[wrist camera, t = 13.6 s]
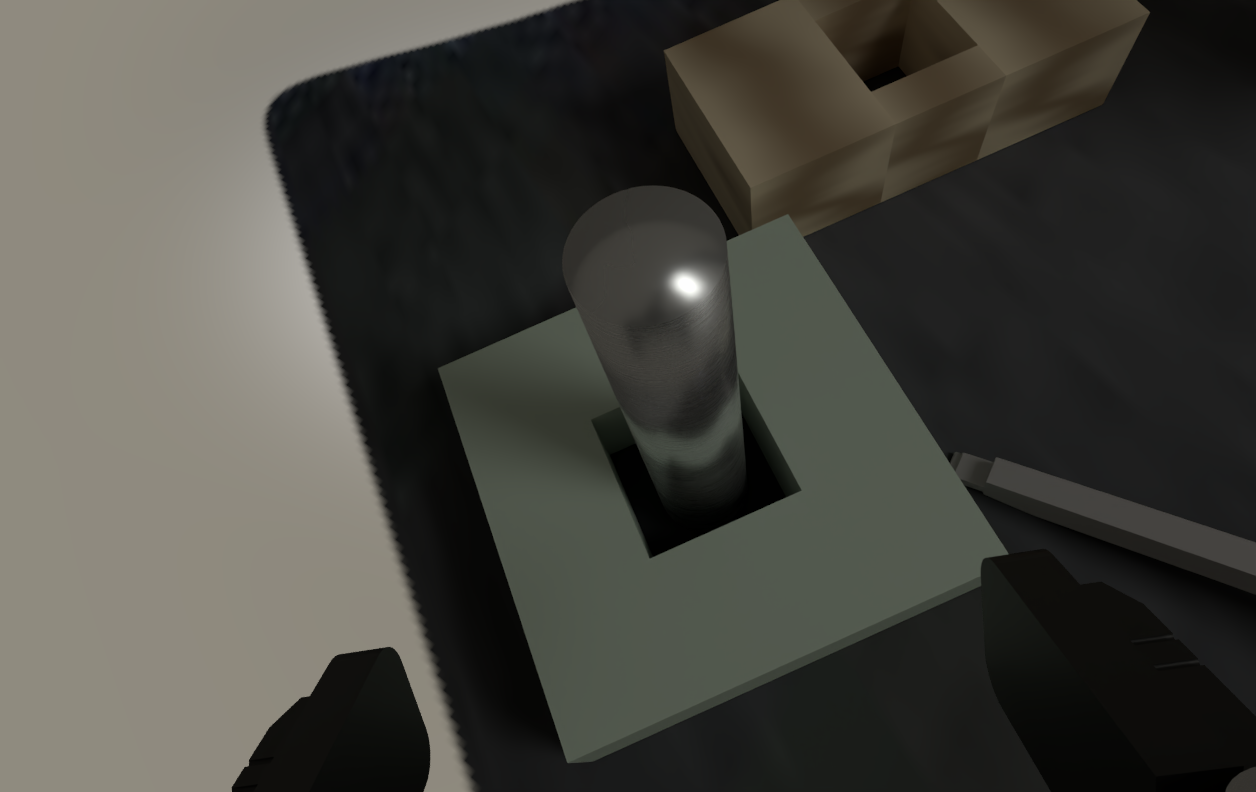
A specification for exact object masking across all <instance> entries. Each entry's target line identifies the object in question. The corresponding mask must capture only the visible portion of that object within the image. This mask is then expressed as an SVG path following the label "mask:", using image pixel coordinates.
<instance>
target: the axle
mask: <svg viewBox="0 0 1256 792" xmlns="http://www.w3.org/2000/svg"><path fill="white" fill-rule="evenodd" d="M562 269H563V274H564V279H565V281H566V284H567V287H568V289H569V291H570V294H571V296H572V298H573V301H574V303H575V305H576V307H577V310H578V312H579V314H580V317H581V319H582V321H583V323H584V326H585V328H586V330H587V333H588V335H589V337H590V339H591V342H592V344H593V346H594V349H595V351H596V353H597V355H598V358H599V360H600V362H601V365H602V367H603V369H604V372H605V374H606V376H607V378H608V381H609V383H610V385H611V388H612V390H613V392H614V394H615V397H616V399H617V401H618V404H619V406H620V408H621V410H622V413H623V415H624V417H625V420H626V422H627V424H628V426H629V429H630V431H631V433H632V436H633V438H634V440H635V442H636V445H637V447H638V449H639V452H640V454H641V456H642V458H643V461H644V463H645V465H646V468H647V470H648V472H649V474H650V477H651V479H652V481H653V484H654V486H655V488H656V490H657V493H658V495H659V497H660V500H661V502H662V504H663V506H664V508H665V510H666V512H667V513H668V515H669V516H670V517H671V518H672V519H673V520H674V521H675V522H676V523H677V524H679V525H681V526H682V527H685V528H687V529H690V530H693V531H699V532H707V531H713V530H715V529H717V528H719V527H722V526H724V525H726V524H728V523H731V522H732V521H733V520H734V519H735V518H736V517H737V516H738V515H739V514H740V512H741V511H742V509H743V507H744V505H745V502H746V499H747V493H748V485H747V473H746V461H745V449H744V438H743V426H742V414H741V403H740V391H739V379H738V368H737V356H736V344H735V332H734V321H733V309H732V297H731V286H730V274H729V262H728V251H727V241H726V235H725V232H724V228H723V226H722V224H721V222H720V220H719V218H718V217H717V215H716V214H715V212H714V211H713V210H712V209H711V208H710V207H709V206H708V205H707V204H706V203H705V202H703V201H702V200H701V199H699V198H698V197H696V196H694V195H692V194H690V193H688V192H686V191H683V190H680V189H676V188H672V187H666V186H654V185H653V186H640V187H634V188H630V189H626V190H622V191H620V192H617V193H614V194H612V195H610V196H608V197H606V198H604V199H602V200H601V201H599V202H598V203H596V204H595V205H594V206H592V207H591V208H590V209H589V210H587V211H586V212H585V213H584V214H583V215H582V216H581V217H580V219H579V220H578V221H577V223H576V224H575V225H574V227H573V228H572V230H571V232H570V233H569V236H568V238H567V240H566V243H565V247H564V250H563V258H562Z"/></svg>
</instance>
